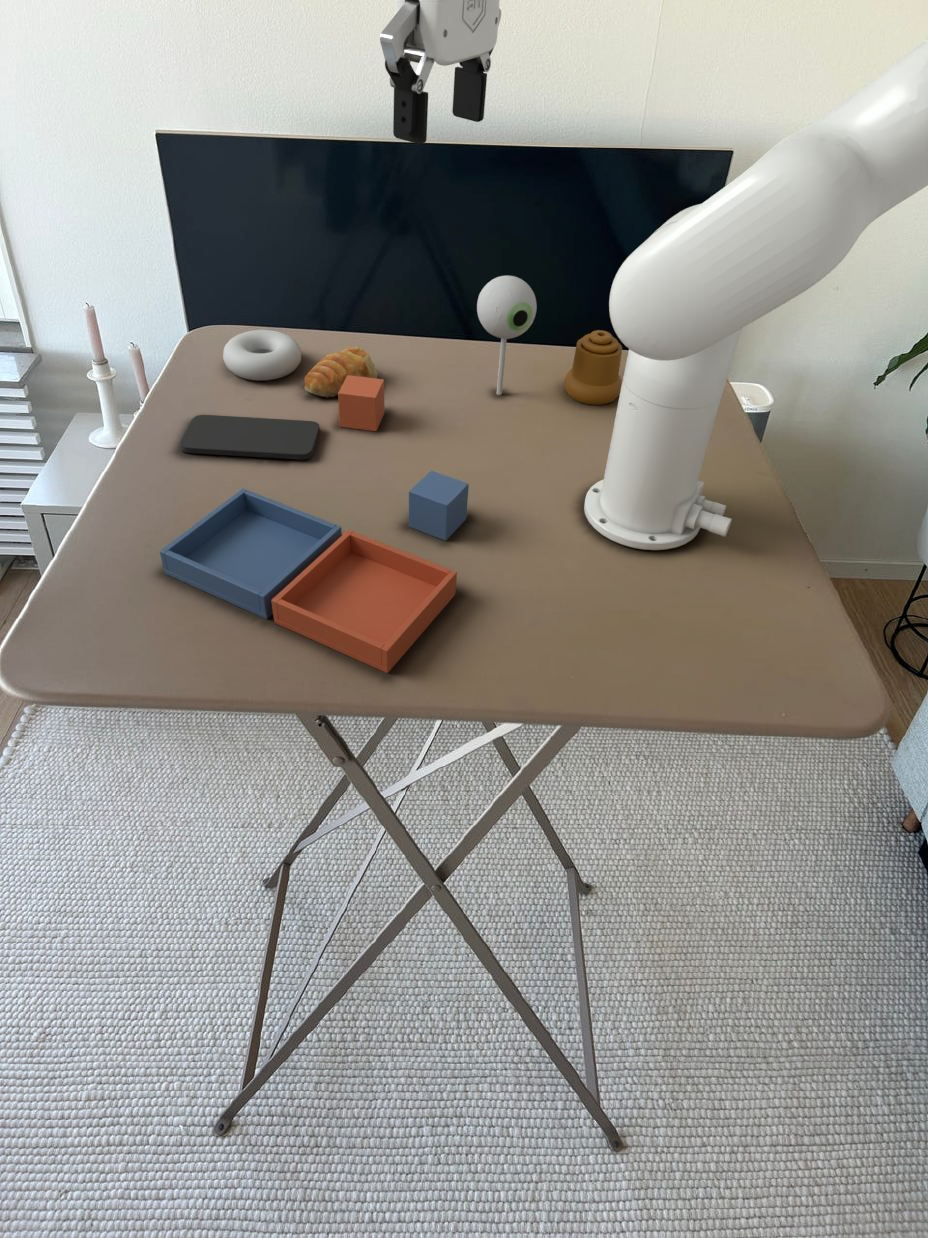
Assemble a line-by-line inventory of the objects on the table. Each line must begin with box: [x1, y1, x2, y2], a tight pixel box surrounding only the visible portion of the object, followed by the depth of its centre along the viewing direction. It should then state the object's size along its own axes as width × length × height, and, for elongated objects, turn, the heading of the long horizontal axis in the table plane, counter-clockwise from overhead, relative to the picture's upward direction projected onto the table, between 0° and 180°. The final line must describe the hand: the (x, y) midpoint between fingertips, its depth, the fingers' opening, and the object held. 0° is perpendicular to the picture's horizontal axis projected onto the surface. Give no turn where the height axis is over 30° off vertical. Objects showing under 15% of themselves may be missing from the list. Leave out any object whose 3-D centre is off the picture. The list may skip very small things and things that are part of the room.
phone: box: [179, 414, 321, 460], centre depth 102 cm, size 7×1×15 cm
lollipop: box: [476, 275, 538, 396], centre depth 108 cm, size 7×7×15 cm
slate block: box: [408, 470, 470, 542], centre depth 91 cm, size 4×4×4 cm
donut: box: [222, 329, 302, 381], centre depth 114 cm, size 10×4×10 cm
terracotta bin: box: [271, 529, 458, 674], centre depth 81 cm, size 12×12×3 cm
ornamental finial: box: [563, 329, 623, 406], centre depth 112 cm, size 8×8×8 cm
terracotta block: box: [337, 375, 385, 432], centre depth 105 cm, size 4×4×4 cm
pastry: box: [304, 345, 379, 398], centre depth 111 cm, size 9×7×4 cm
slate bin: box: [159, 487, 343, 620], centre depth 86 cm, size 12×12×3 cm
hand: (439, 128), depth 81 cm, fingers open, 9 cm apart
